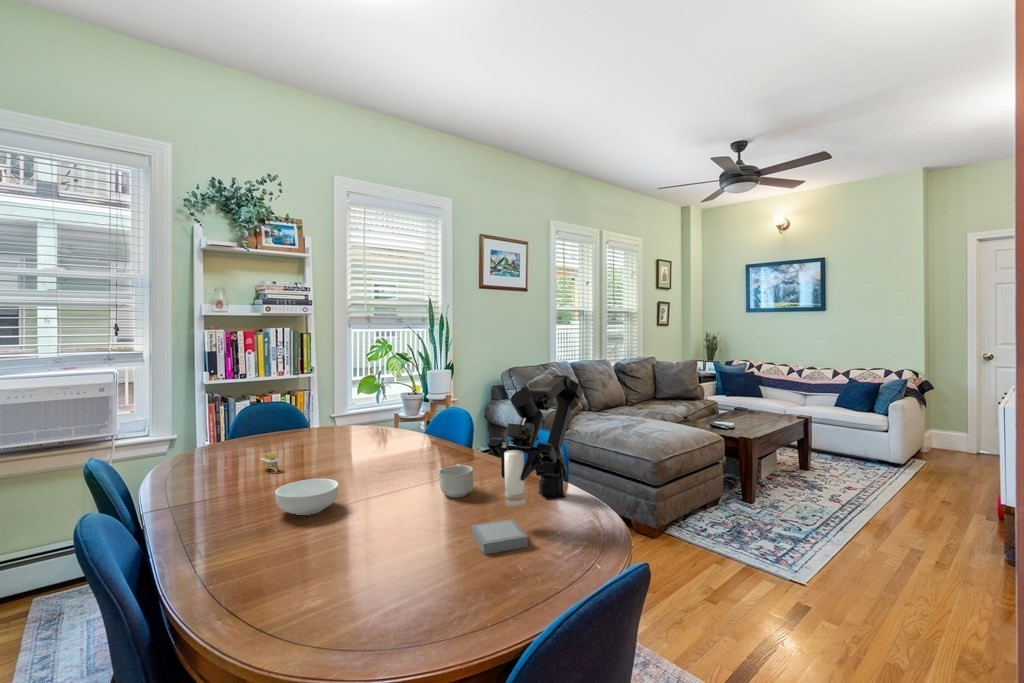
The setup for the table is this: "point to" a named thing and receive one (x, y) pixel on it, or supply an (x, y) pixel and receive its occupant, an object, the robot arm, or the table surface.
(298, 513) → the cereal bowl
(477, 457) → the table surface
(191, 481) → the table surface
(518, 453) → the white cylinder
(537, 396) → the robot arm
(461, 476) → the teacup
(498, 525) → the base
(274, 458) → the yellow and grey piece
